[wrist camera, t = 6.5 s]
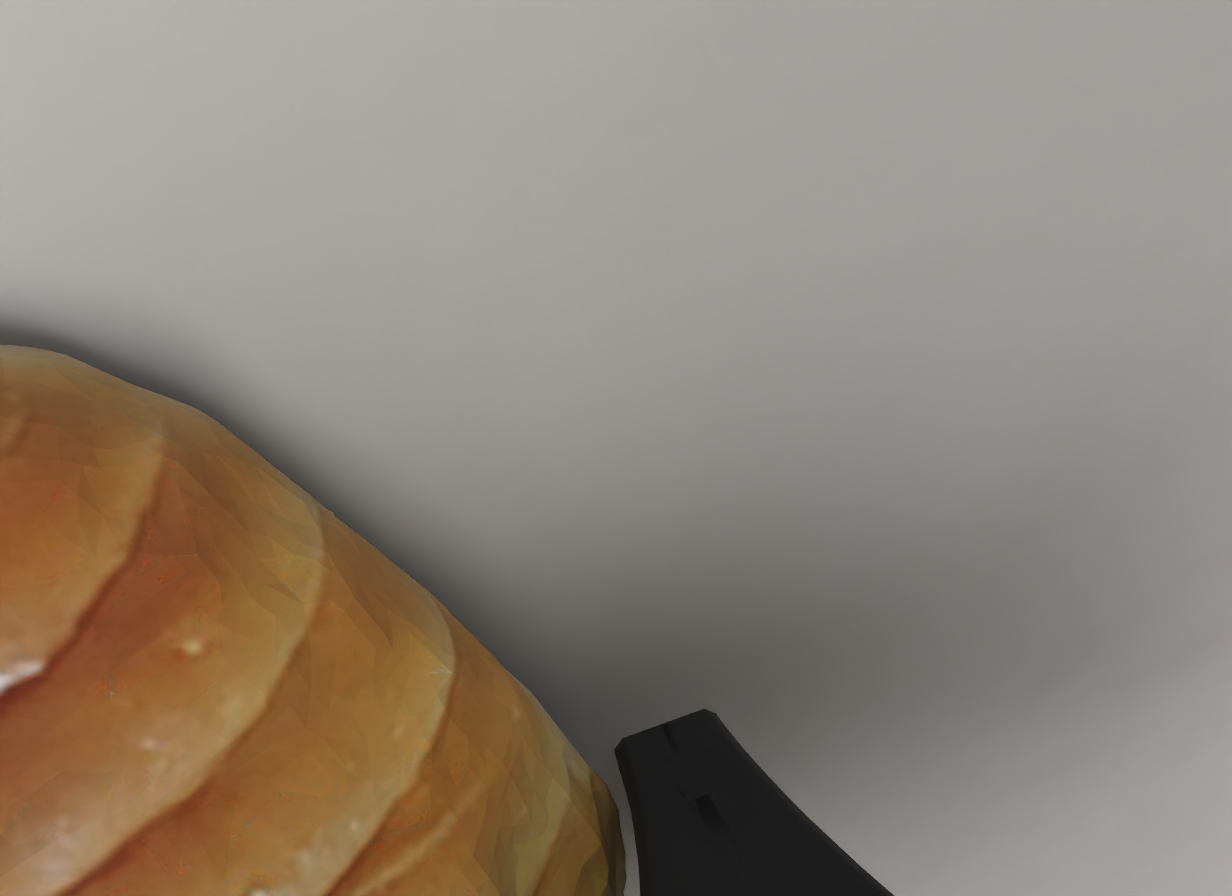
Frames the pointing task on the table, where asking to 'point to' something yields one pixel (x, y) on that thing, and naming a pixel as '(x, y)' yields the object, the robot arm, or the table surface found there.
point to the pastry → (246, 682)
